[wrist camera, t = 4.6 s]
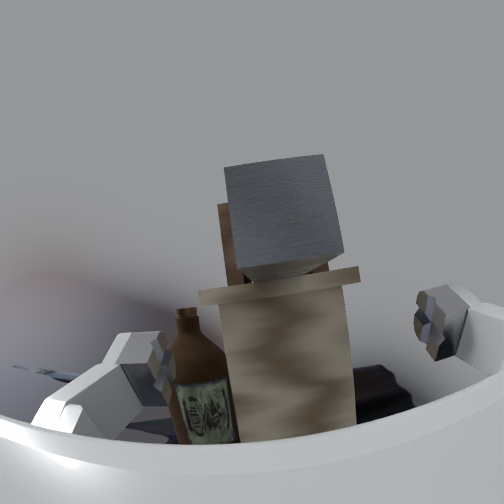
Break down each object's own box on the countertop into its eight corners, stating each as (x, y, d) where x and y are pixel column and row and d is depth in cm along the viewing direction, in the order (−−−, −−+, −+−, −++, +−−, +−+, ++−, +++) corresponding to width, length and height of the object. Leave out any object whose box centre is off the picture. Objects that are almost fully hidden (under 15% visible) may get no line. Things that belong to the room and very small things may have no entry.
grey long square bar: (233, 272, 8) (220, 165, 9) (259, 288, 31) (254, 258, 32) (348, 255, 8) (325, 151, 9) (289, 284, 31) (285, 253, 32)
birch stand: (254, 582, 12) (180, 199, 17) (261, 484, 30) (224, 248, 35) (373, 564, 12) (349, 175, 17) (337, 473, 30) (310, 235, 35)
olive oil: (177, 449, 42) (150, 311, 46) (235, 438, 46) (213, 304, 50) (185, 478, 33) (150, 311, 36) (255, 463, 36) (229, 302, 40)
